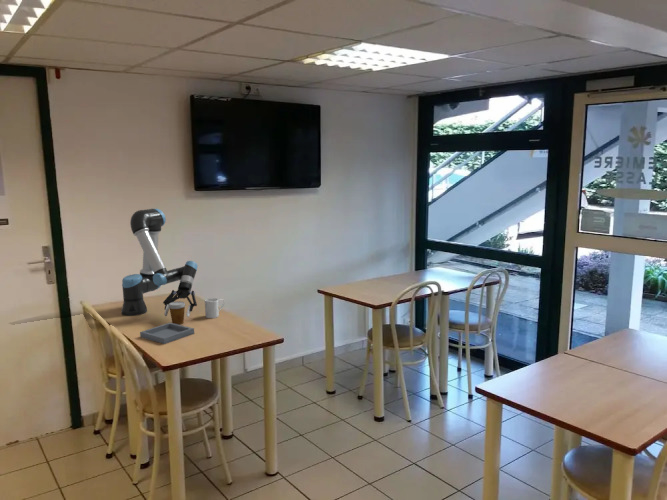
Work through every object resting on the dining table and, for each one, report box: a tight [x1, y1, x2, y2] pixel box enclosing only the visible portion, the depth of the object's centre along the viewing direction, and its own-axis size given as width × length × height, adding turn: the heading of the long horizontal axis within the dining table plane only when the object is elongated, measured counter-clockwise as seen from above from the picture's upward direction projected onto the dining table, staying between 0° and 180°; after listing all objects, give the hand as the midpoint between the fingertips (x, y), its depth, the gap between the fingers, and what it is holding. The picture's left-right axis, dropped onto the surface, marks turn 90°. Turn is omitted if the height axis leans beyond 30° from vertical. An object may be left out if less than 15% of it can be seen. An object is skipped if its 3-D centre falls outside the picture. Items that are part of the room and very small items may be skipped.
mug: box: [204, 297, 226, 319], centre depth 324 cm, size 12×8×10 cm, turn 125°
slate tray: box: [139, 322, 195, 345], centre depth 289 cm, size 20×20×3 cm
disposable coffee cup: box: [168, 300, 186, 325], centre depth 310 cm, size 10×10×12 cm
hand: (176, 315), depth 308 cm, fingers open, 13 cm apart
